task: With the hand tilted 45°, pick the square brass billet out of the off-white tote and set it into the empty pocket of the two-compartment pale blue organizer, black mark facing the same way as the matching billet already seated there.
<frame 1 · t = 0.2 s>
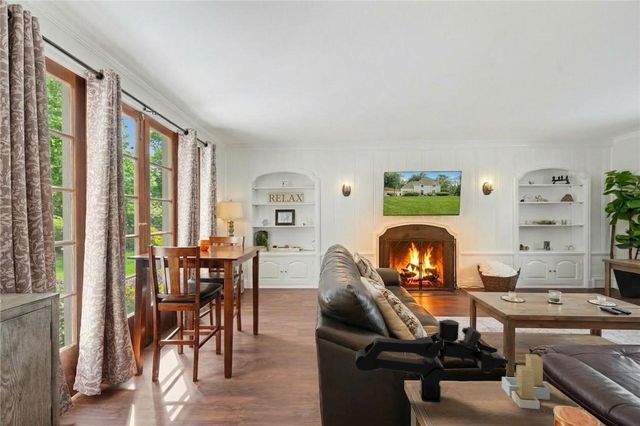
hand: (502, 355, 117), 17 cm above the table, tool horizontal, fingers open, 9 cm apart
seated billet: (534, 389, 122), point 1 cm above the table, touching two-compartment pale blue organizer
tote: (525, 403, 116), on the table
two-compartment pale blue organizer: (524, 393, 123), on the table
billet: (525, 385, 116), in the tote
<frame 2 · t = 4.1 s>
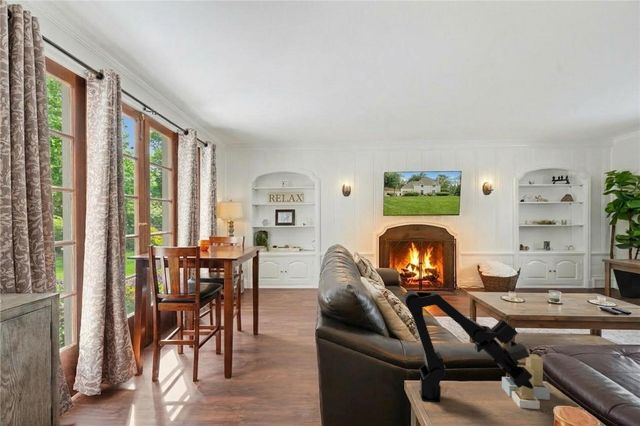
hand: (529, 384, 116), 7 cm above the table, tool tilted 45°, fingers closed on billet, 4 cm apart
billet: (525, 385, 116), in the tote, touching gripper
everything else where it was.
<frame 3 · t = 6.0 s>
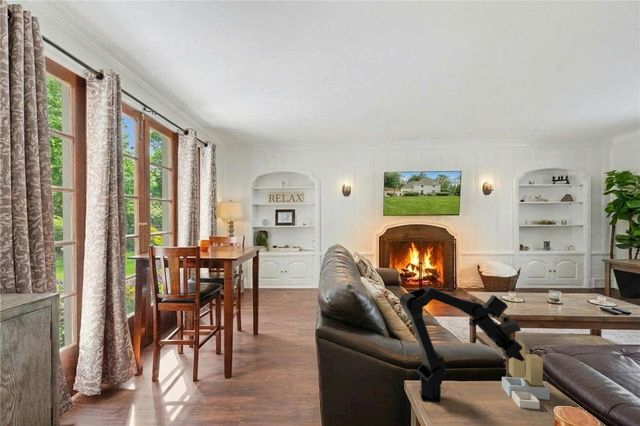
hand: (520, 357, 122), 13 cm above the table, tool tilted 45°, fingers closed on billet, 4 cm apart
billet: (516, 358, 122), point 13 cm above the table, touching gripper
everything else where it was.
when the fingers open (9 cm above the table, at t = 7.8 s): billet stays where it is, resting on two-compartment pale blue organizer.
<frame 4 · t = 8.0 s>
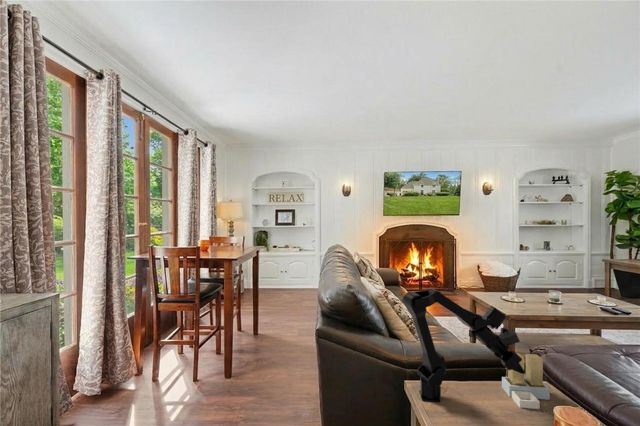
hand: (519, 368, 123), 9 cm above the table, tool tilted 45°, fingers open, 6 cm apart
billet: (516, 372, 123), in the two-compartment pale blue organizer, point 8 cm above the table
everything else where it was.
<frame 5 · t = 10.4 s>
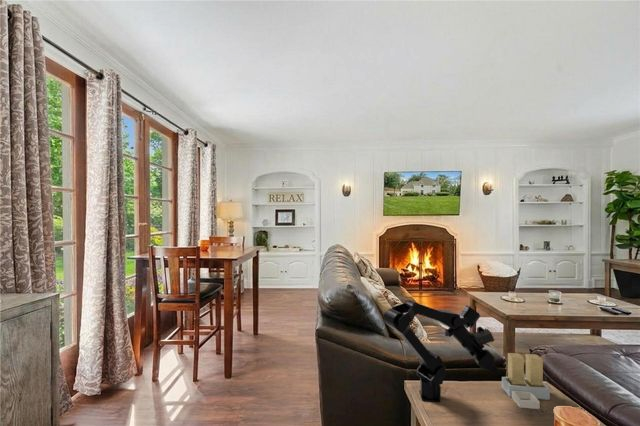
hand: (494, 367, 124), 9 cm above the table, tool tilted 45°, fingers open, 9 cm apart
nothing on the table moved.
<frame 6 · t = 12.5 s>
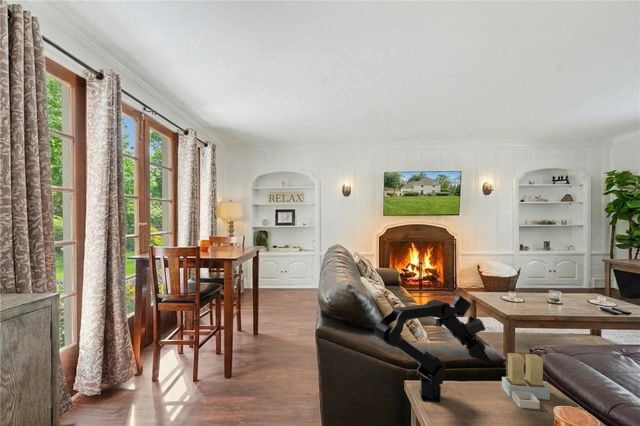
hand: (485, 357, 123), 14 cm above the table, tool tilted 45°, fingers open, 9 cm apart
nothing on the table moved.
at the end: billet 0.0 cm from the target spot on the two-compartment pale blue organizer, point 7.7 cm above the two-compartment pale blue organizer's base; billet tilted 0°; the gripper is holding nothing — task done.
